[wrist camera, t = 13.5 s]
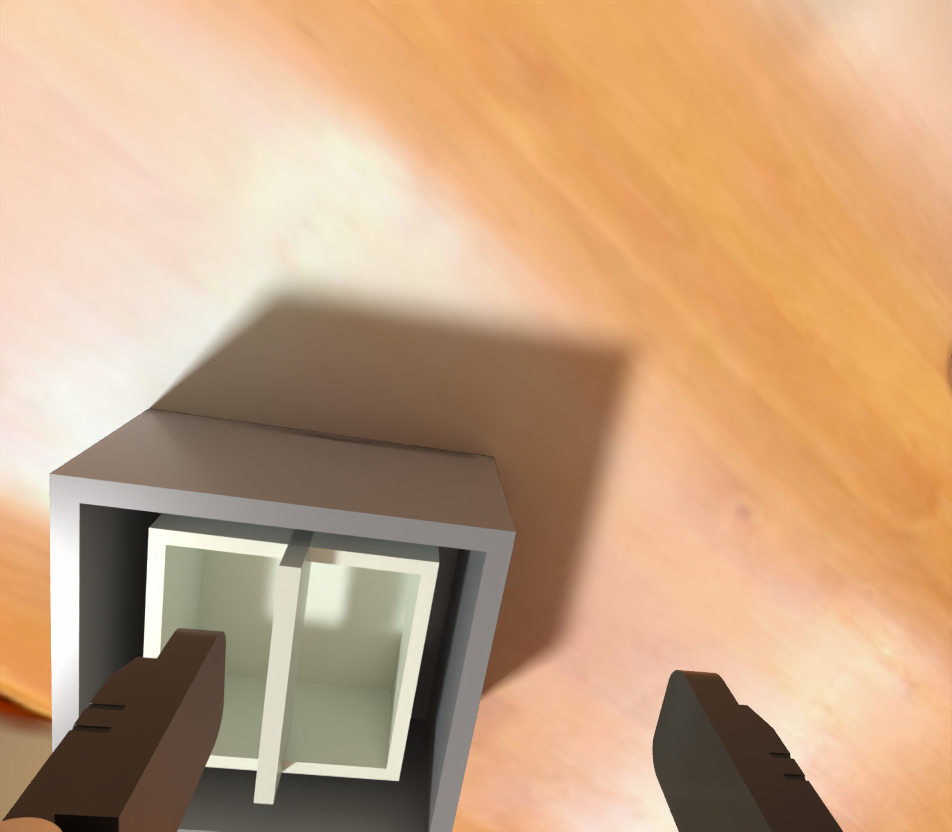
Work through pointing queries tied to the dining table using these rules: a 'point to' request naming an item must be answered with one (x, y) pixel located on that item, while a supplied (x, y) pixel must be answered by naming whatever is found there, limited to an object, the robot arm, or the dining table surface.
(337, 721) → the small crate
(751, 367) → the dining table surface
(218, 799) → the big crate
